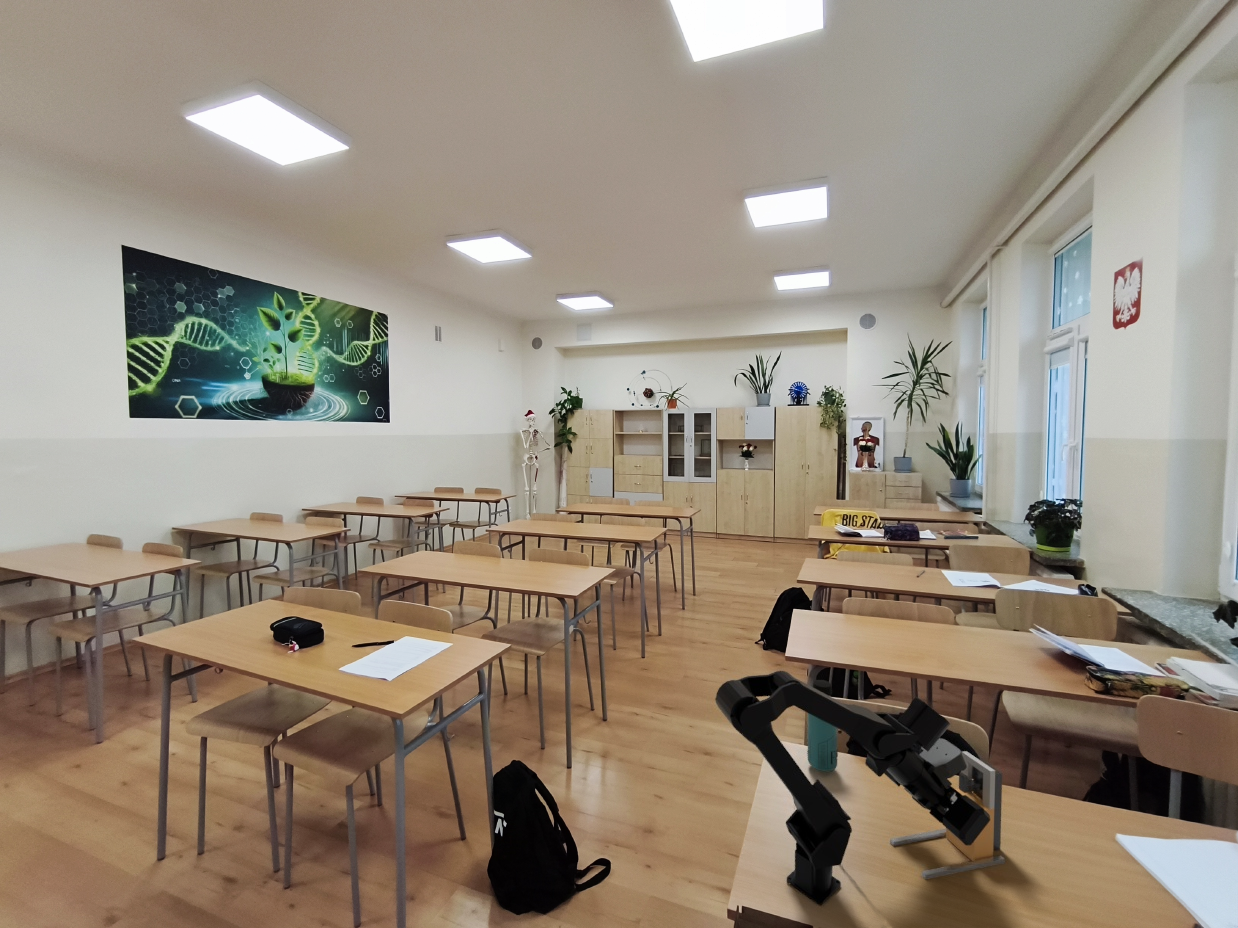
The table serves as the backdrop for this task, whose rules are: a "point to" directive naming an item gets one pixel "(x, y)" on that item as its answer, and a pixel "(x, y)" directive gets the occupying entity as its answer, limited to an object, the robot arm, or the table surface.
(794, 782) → the robot arm
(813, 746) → the beverage bottle
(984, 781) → the orange padlock
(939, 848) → the table surface
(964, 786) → the grey stand with block
